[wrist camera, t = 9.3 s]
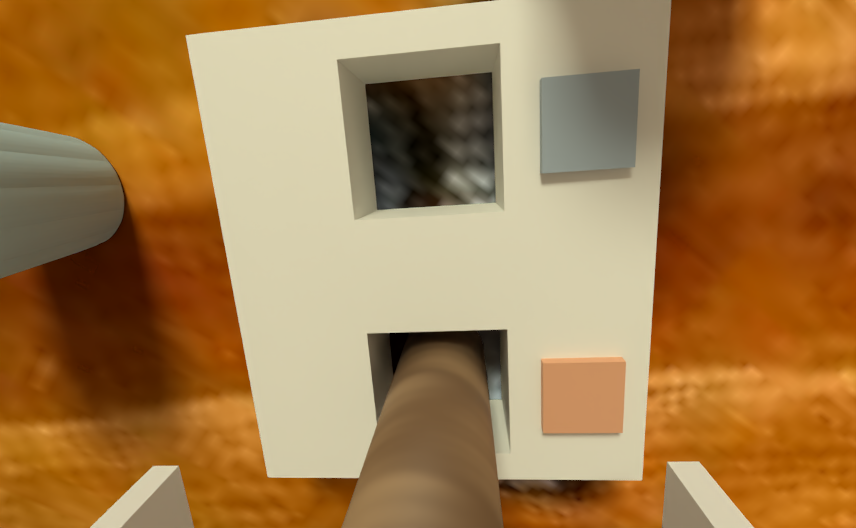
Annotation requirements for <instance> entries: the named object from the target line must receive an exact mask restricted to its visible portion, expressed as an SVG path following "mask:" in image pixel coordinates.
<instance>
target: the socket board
mask: <svg viewBox="0 0 856 528" xmlns="http://www.w3.org/2000/svg"><path fill="white" fill-rule="evenodd" d="M670 15H671V0H495V1H486V2H477V3H468V4H459V5H450V6H441V7H433V8H424V9H415V10H406V11H397V12H388V13H379V14H370V15H362V16H353V17H344V18H335V19H326V20H317V21H308V22H300V23H291V24H282V25H273V26H264V27H255V28H246V29H237V30H229V31H220V32H211V33H202V34H193V35H186V40H187V45H188V51H189V56H190V62H191V67H192V72H193V78H194V83H195V88H196V94H197V99H198V105H199V110H200V115H201V121H202V126H203V131H204V137H205V142H206V148H207V153H208V158H209V164H210V169H211V174H212V180H213V185H214V191H215V196H216V201H217V207H218V212H219V217H220V223H221V228H222V234H223V239H224V244H225V250H226V255H227V260H228V266H229V271H230V277H231V282H232V287H233V293H234V298H235V303H236V309H237V314H238V320H239V325H240V330H241V336H242V341H243V346H244V352H245V357H246V363H247V368H248V373H249V379H250V384H251V389H252V395H253V400H254V406H255V411H256V416H257V422H258V427H259V432H260V438H261V443H262V449H263V454H264V459H265V465H266V470H267V475H268V477H283V478H359V476H360V473H361V470H362V467H363V464H364V461H365V458H366V455H367V452H368V449H369V446H370V444H371V441H372V438H373V435H374V432H375V429H376V426H377V423H378V420H379V417H380V414H381V411H382V409H383V406H384V403H385V400H386V397H387V394H388V391H389V388H390V385H391V382H392V379H393V367H392V357H391V347H390V336H389V333H400V332H434V331H468V330H500V359H501V392H502V400H489V401H490V410H491V419H492V428H493V437H494V446H495V456H496V465H497V474H498V479H527V480H642V473H643V456H644V440H645V424H646V407H647V391H648V374H649V358H650V342H651V325H652V309H653V293H654V276H655V260H656V244H657V227H658V211H659V195H660V178H661V162H662V145H663V129H664V113H665V96H666V80H667V64H668V47H669V31H670ZM489 72H492V93H493V127H494V160H495V193H496V203H483V204H467V205H451V206H434V207H418V208H402V209H386V210H377V202H376V191H375V181H374V171H373V160H372V150H371V140H370V129H369V119H368V109H367V98H366V88H365V84H373V83H383V82H394V81H404V80H415V79H425V78H436V77H447V76H457V75H468V74H478V73H489Z"/></svg>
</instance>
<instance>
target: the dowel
mask: <svg viewBox="0 0 856 528" xmlns="http://www.w3.org/2000/svg"><path fill="white" fill-rule="evenodd" d="M342 528H503V519H502V510H501V501H500V492H499V483H498V474H497V465H496V456H495V446H494V437H493V428H492V419H491V410H490V401H489V392H488V383H487V374H486V365H485V355H484V346H483V342H482V339H481V337H480V335H479V333H478V332H477V331H476V330H468V331H434V332H409V334H408V336H407V339H406V341H405V344H404V347H403V350H402V353H401V356H400V359H399V362H398V365H397V368H396V371H395V374H394V376H393V379H392V382H391V385H390V388H389V391H388V394H387V397H386V400H385V403H384V406H383V409H382V411H381V414H380V417H379V420H378V423H377V426H376V429H375V432H374V435H373V438H372V441H371V444H370V446H369V449H368V452H367V455H366V458H365V461H364V464H363V467H362V470H361V473H360V476H359V479H358V481H357V484H356V487H355V490H354V493H353V496H352V499H351V502H350V505H349V508H348V511H347V514H346V516H345V519H344V522H343V525H342Z"/></svg>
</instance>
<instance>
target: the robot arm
mask: <svg viewBox="0 0 856 528" xmlns="http://www.w3.org/2000/svg"><path fill="white" fill-rule="evenodd" d="M90 528H194V526H193V522H192V517H191V513H190V509H189V505H188V501H187V497H186V493H185V489H184V485H183V481H182V477H181V473H180V469H179V466H153V467H152V468H151V469H150V470H149V471H148V472H147V473H146V474H145V475H143V476H142V477H141V478H140V479H139V480H138V481H137V482H136V483H135V484H134V485H133V486H132V487H131V488H130V489H129V490H128V491H127V492H126V493H125V494H124V495H123V496H122V497H121V498H120V499H119V500H118V501H117V502H116V503H115V504H114V505H113V506H112V507H111V508H110V509H109V510H108V511H107V512H106V513H105V514H104V515H103V516H101V517H100V518H99V519H98V520H97V521H96V522H95V523H94V524H93V525H92V526H91V527H90ZM662 528H754V527H753V526H752V525H751V524H750V523H749V521H748V520H747V519H746V518H745V517H744V515H743V514H742V513H741V512H740V511H739V509H738V508H737V507H736V506H735V505H734V503H733V502H732V501H731V500H730V498H729V497H728V496H727V495H726V494H725V492H724V491H723V490H722V489H721V488H720V486H719V485H718V484H717V483H716V482H715V480H714V479H713V478H712V477H711V476H710V474H709V473H708V472H707V471H706V469H705V468H704V467H703V466H702V465H701V463H700V462H667V470H666V483H665V495H664V508H663V521H662Z"/></svg>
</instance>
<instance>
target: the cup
mask: <svg viewBox="0 0 856 528" xmlns="http://www.w3.org/2000/svg"><path fill="white" fill-rule="evenodd" d="M123 213H124V194H123V190H122V186H121V183H120V180H119V178H118V175H117V173H116V171H115V170H114V168H113V167H112V165H111V164H110V163H109V161H108V160H107V159H106V158H105V157H104V156H103V155H102V154H101V153H100V152H99V151H98V150H97V149H95V148H94V147H92V146H91V145H89V144H87V143H85V142H84V141H82V140H79V139H77V138H74V137H70V136H66V135H61V134H56V133H51V132H46V131H41V130H36V129H31V128H26V127H21V126H16V125H11V124H6V123H1V122H0V278H3V277H6V276H9V275H12V274H15V273H18V272H21V271H24V270H27V269H30V268H33V267H36V266H39V265H42V264H45V263H48V262H51V261H54V260H57V259H60V258H63V257H65V256H68V255H71V254H74V253H77V252H80V251H83V250H86V249H89V248H91V247H94V246H96V245H98V244H100V243H103V242H105V241H107V240H108V239H109V238H111V237H112V236H113V234H114V233H115V232H116V230H117V229H118V227H119V225H120V223H121V221H122V218H123Z"/></svg>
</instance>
